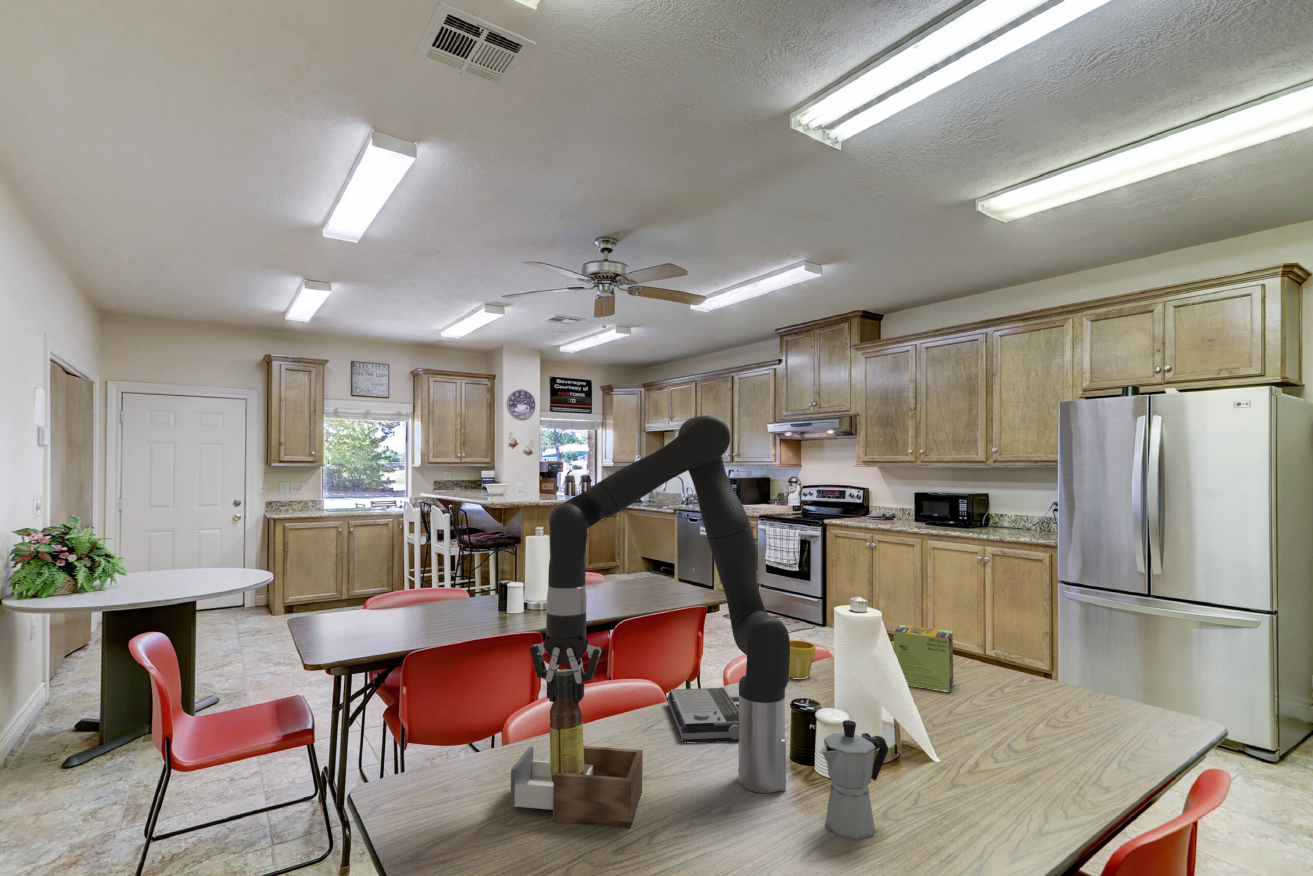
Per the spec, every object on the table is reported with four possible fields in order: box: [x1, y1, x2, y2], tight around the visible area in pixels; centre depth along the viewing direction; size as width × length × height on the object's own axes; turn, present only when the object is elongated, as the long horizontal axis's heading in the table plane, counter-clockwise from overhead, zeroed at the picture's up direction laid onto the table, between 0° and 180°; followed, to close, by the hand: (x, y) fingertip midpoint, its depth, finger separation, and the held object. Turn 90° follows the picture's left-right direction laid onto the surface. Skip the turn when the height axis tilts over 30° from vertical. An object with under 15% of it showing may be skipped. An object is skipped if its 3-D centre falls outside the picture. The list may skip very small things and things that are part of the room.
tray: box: [509, 746, 594, 811], centre depth 120 cm, size 13×10×6 cm
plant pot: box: [789, 639, 816, 679], centre depth 196 cm, size 10×10×10 cm
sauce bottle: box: [549, 668, 585, 783], centre depth 121 cm, size 7×6×20 cm
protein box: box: [893, 624, 955, 692], centre depth 190 cm, size 10×15×16 cm
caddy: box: [552, 745, 644, 829], centre depth 119 cm, size 14×13×8 cm
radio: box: [667, 687, 739, 744], centre depth 160 cm, size 24×5×20 cm
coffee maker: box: [819, 719, 889, 841], centre depth 114 cm, size 15×9×18 cm, turn 114°
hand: (565, 700), depth 121 cm, fingers closed on sauce bottle, 4 cm apart
